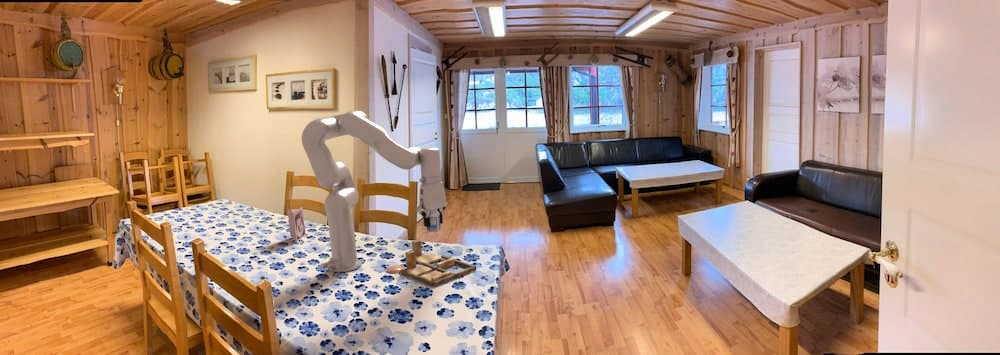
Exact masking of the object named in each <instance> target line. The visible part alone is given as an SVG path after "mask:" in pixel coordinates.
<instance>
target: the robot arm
mask: <svg viewBox="0 0 1000 355" xmlns="http://www.w3.org/2000/svg"><path fill="white" fill-rule="evenodd" d="M347 135H349V136H351V137H353V138H354V139H356V140H358V141H359V142H360V143H361V142H362V143H363V144H364V145H366V146H368V147H370V148H371V149H372V150H373V151H374V152H375V153H377V154H378V155H379V156H380V157H381V158H383V159H384V160H385V161H387V162H388V163H390V164H392V165H394V166H396V167H398V168H400V169H401V170H406V171H407V170H411V169H413V168H414V167H415V168H416V167H417V166H420V178H419V182H420V185H419V193H418V194H419V197H418V199H419V200H418V202H419V203H418V205H417V207H416V209H415V211H416V212H417V213H418V214H419V215H421V217H423V227H425V228H427V227H428V228H429V227H430V217H429V212H430V210H434V209H437V211H438V212H439V213H440V225H442V224H443V222H444V221H443V214H444V213H445V210H446V207H447V206H448V205H449V202H448V200H447V198H446V197H447V196H446V190H445V186H444V182H443V181H442V173H441V172H442V171H441V152H440V151H441V150H440V149H439V148H437V147H430V146H429V147H416V146H409V147H407V148H405V147H403V146H402V145H400V144H399V143H396V142H395V141H394V140H392V139H391V137H390V136H389V135H388V133H387V131H386V129H385V128H383V127H382V126H379V125H377V124H376V123H374V122H372V121H370V120H369V117H368V116H367V114H366V113H364V112H363V111H361V110H352V111H351V110H350V111H347V112H344V113H341V114H336V115H331V116H327V117H326V116H325V117H320V118H315V119H313V120H311V121H310V122H309V123H307V125H305V127H304V128H303V131H302V133H301V144H302V147H303V149H304V151H305V154H306V157H307V158H308V161H309V164H310V166H311V168H312V171H313V174H314V175H315V178H316V181H317V183H318V185H319V186H320V187H321V188H323V189H328V190H329V189H332V191H331V192H330V193H329V194H328V195H327V196H326V197H325V199H324V211H325V216H326V218H327V224H328V233H329V242H330V251H331V257H329V260H327V261H325V262H321V263H320V268H321V269H324V268H327V269H328V270H329V271H331V272H334V273H346V272H352V271H355V270H357V269H359V268H360V267H361V266H362V261H361V260H360V259H358V254H357V245H356V244H357V243H356V234H355V233H356V232H355V224H354V223H355V222H354V218H353V215H352V211H351V209H352V208H354V207H355V206H356V205H357V204H358V203H359V198H360V197H359V196H360V195H359V191H358V188H357V186H356V184H355V182H354V180H353V177H352V174H351V171H350V170H349V168H348V166H347V165H346V164H345V163H344V162H342V161H338V160H335V159H334V157H333V154H332V151H331V150H330V149H329V147H328V145H326V141H328V140H330V139H334V138H337V137H338V138H339V137H342V136H347Z"/></svg>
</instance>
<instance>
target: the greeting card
mask: <svg viewBox="0 0 1000 355" xmlns="http://www.w3.org/2000/svg"><path fill="white" fill-rule="evenodd" d="M303 208H304V207H303V206H301V207H300V208H298V209H296V210H295V211H292V210H290V209H289V208H286V209H287V219H288V226H289V234H290V238H291V237H292V238H293V239H294V240H295V241H296V242H298V241H299V240H300V239H301V238H302V237H304V236H305V235H306V226H305V218H304V209H303ZM305 237H306V236H305ZM305 237H304V238H305ZM295 241H294V242H295ZM300 241H301V240H300ZM300 241H299V242H300ZM296 242H295V243H296ZM299 242H298V243H299Z"/></svg>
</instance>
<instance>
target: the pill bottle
mask: <svg viewBox="0 0 1000 355" xmlns="http://www.w3.org/2000/svg"><path fill="white" fill-rule="evenodd" d="M429 217H430V227H429V228H428V227H426V231H427V232H428V233H437V232H440V231H441V224H440V213H439V212H438V211H437V209H434V210H430V212H429Z"/></svg>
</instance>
